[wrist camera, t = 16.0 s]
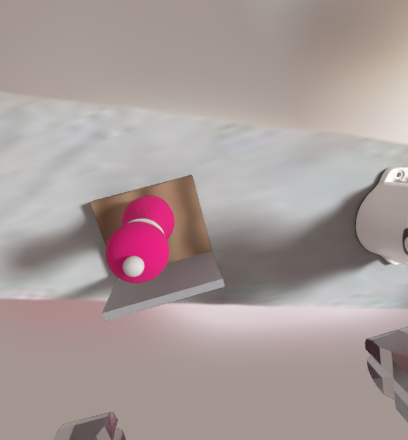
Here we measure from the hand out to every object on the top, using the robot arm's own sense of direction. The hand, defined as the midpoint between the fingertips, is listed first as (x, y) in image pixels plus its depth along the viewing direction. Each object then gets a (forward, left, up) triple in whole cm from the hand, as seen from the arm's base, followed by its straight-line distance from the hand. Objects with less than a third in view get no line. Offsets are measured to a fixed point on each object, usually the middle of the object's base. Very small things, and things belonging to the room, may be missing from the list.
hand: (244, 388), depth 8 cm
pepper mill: (+6, +1, -34) cm, 34 cm away
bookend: (+6, +4, -36) cm, 36 cm away
